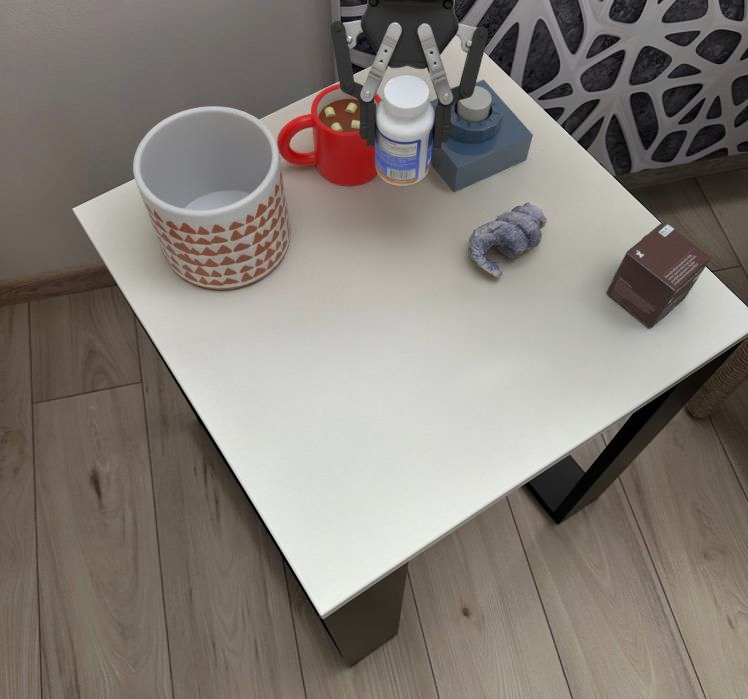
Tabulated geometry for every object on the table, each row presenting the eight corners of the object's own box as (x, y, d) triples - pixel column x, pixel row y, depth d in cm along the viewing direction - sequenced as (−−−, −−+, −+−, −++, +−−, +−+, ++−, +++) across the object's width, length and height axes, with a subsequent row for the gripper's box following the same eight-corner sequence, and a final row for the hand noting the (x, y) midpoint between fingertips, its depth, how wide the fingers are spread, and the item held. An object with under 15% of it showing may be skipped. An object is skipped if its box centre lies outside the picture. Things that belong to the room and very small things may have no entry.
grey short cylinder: (477, 95, 86) (479, 81, 85) (495, 116, 85) (498, 101, 83) (450, 106, 86) (452, 92, 84) (468, 127, 84) (470, 113, 82)
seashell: (477, 285, 82) (534, 232, 86) (508, 280, 78) (567, 225, 81) (451, 244, 81) (510, 192, 85) (481, 236, 76) (542, 182, 80)
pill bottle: (401, 137, 77) (406, 58, 68) (441, 166, 75) (450, 90, 66) (362, 166, 75) (362, 89, 66) (402, 197, 73) (406, 122, 65)
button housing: (479, 105, 93) (486, 65, 88) (526, 159, 89) (536, 121, 84) (408, 134, 91) (411, 95, 86) (453, 192, 87) (459, 155, 82)
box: (649, 331, 78) (674, 291, 72) (603, 293, 80) (624, 252, 74) (686, 298, 80) (714, 257, 74) (641, 262, 82) (664, 219, 76)
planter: (295, 191, 87) (284, 106, 75) (284, 294, 80) (271, 216, 69) (174, 188, 87) (145, 102, 76) (153, 290, 80) (119, 212, 69)
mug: (273, 149, 90) (266, 97, 83) (372, 128, 91) (373, 76, 84) (288, 200, 86) (282, 150, 79) (391, 177, 88) (393, 127, 81)
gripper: (324, -73, 62) (321, 145, 66) (504, -67, 61) (487, 152, 66) (332, -53, 69) (328, 143, 74) (492, -47, 69) (478, 148, 74)
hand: (404, 146), depth 70 cm, fingers closed on pill bottle, 5 cm apart
